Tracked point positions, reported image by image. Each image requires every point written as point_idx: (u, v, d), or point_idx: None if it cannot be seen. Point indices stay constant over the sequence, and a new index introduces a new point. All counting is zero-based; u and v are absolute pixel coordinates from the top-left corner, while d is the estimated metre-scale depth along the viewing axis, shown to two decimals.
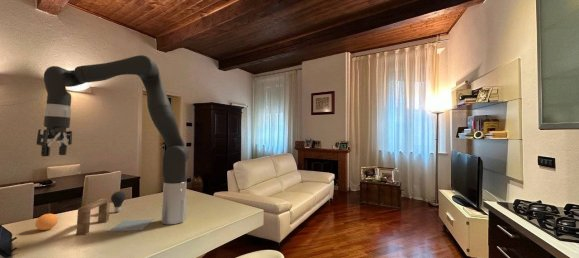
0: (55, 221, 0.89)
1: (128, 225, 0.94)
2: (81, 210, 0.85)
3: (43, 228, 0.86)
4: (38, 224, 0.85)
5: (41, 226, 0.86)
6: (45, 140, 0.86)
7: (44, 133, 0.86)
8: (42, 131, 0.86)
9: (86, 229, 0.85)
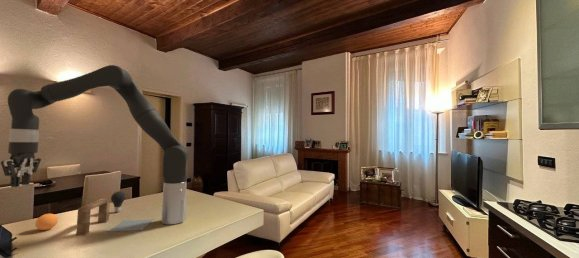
0: (55, 221, 0.89)
1: (128, 225, 0.94)
2: (81, 210, 0.85)
3: (43, 228, 0.86)
4: (38, 224, 0.85)
5: (41, 226, 0.86)
6: (13, 171, 0.83)
7: (8, 165, 0.82)
8: (5, 163, 0.81)
9: (86, 229, 0.85)
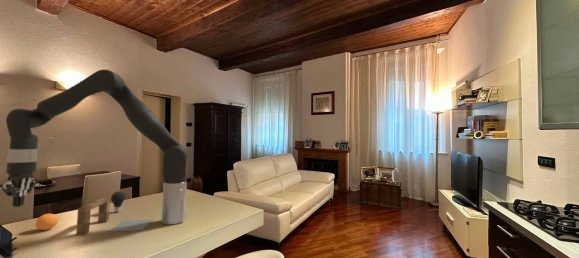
0: (55, 221, 0.89)
1: (128, 225, 0.94)
2: (81, 210, 0.85)
3: (43, 228, 0.86)
4: (38, 224, 0.85)
5: (41, 226, 0.86)
6: (14, 192, 0.84)
7: (8, 188, 0.82)
8: (5, 187, 0.82)
9: (86, 229, 0.85)
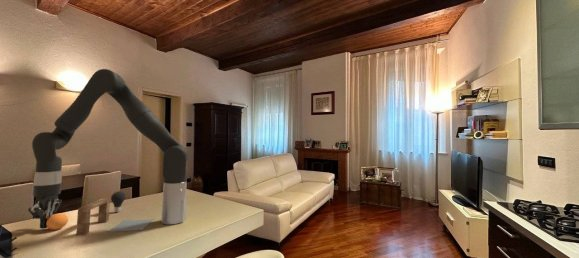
0: None
1: (128, 225, 0.94)
2: (81, 210, 0.85)
3: (49, 227, 0.87)
4: (49, 222, 0.86)
5: (50, 226, 0.86)
6: (42, 215, 0.85)
7: (36, 212, 0.84)
8: (33, 210, 0.83)
9: (86, 229, 0.85)
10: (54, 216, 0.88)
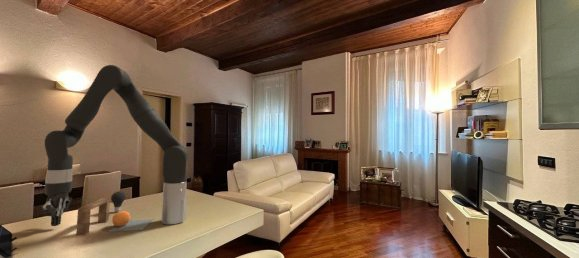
0: None
1: (128, 225, 0.94)
2: (81, 210, 0.85)
3: (113, 220, 0.91)
4: (118, 219, 0.91)
5: (115, 221, 0.91)
6: (53, 212, 0.86)
7: (48, 209, 0.84)
8: (45, 208, 0.84)
9: (86, 229, 0.85)
10: (125, 217, 0.93)
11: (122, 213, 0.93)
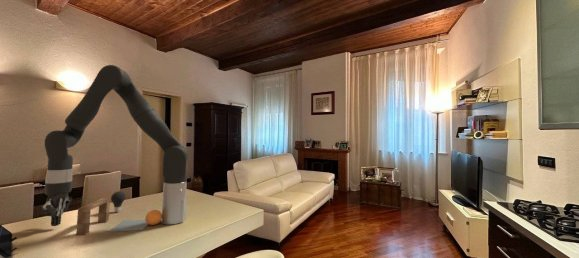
0: (161, 215, 0.96)
1: (128, 225, 0.94)
2: (81, 210, 0.85)
3: (153, 223, 0.94)
4: (149, 220, 0.93)
5: (152, 221, 0.93)
6: (53, 212, 0.86)
7: (48, 209, 0.84)
8: (45, 208, 0.84)
9: (86, 229, 0.85)
10: (146, 216, 0.94)
11: None
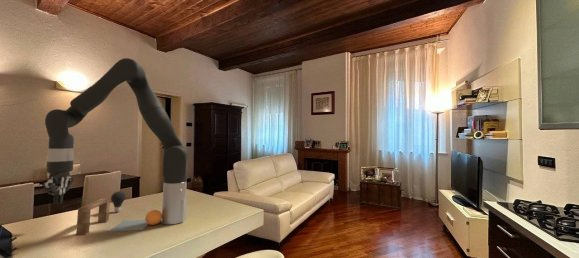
0: (161, 215, 0.96)
1: (128, 225, 0.94)
2: (81, 210, 0.85)
3: (153, 223, 0.94)
4: (149, 220, 0.93)
5: (152, 221, 0.93)
6: (55, 190, 0.87)
7: (50, 187, 0.85)
8: (47, 185, 0.84)
9: (86, 229, 0.85)
10: (146, 216, 0.94)
11: None
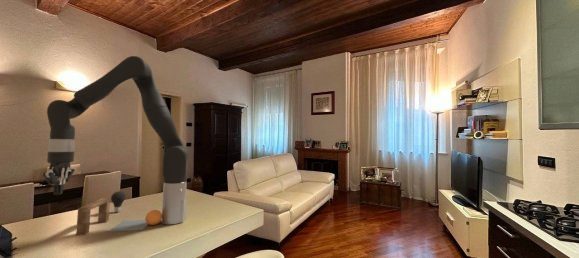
0: (161, 215, 0.96)
1: (128, 225, 0.94)
2: (81, 210, 0.85)
3: (153, 223, 0.94)
4: (149, 220, 0.93)
5: (152, 221, 0.93)
6: (55, 180, 0.87)
7: (51, 177, 0.85)
8: (47, 175, 0.84)
9: (86, 229, 0.85)
10: (146, 216, 0.94)
11: None
